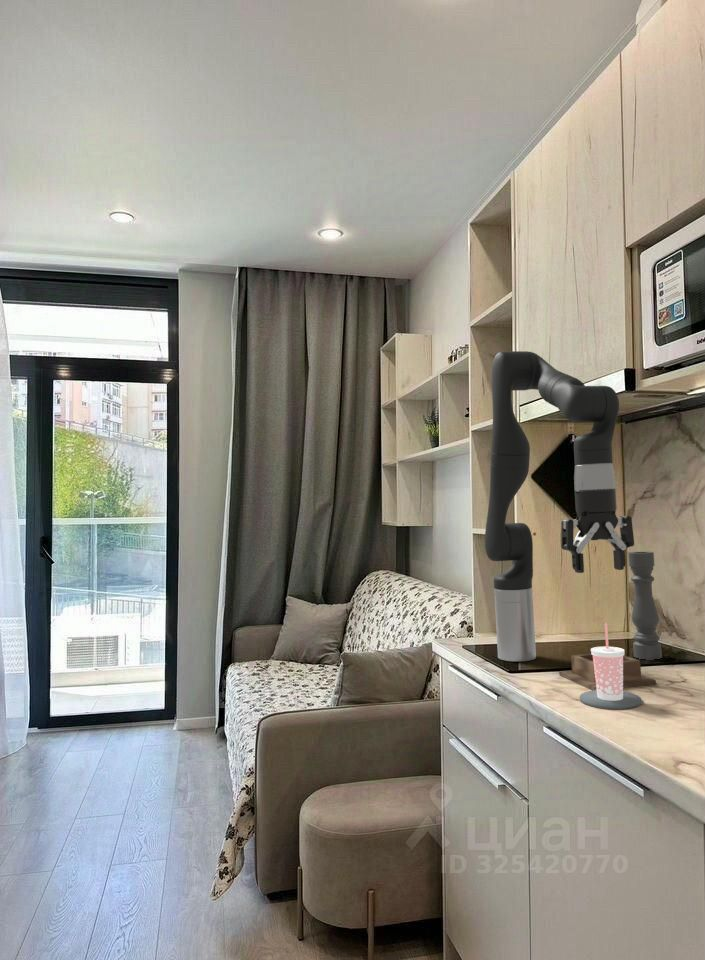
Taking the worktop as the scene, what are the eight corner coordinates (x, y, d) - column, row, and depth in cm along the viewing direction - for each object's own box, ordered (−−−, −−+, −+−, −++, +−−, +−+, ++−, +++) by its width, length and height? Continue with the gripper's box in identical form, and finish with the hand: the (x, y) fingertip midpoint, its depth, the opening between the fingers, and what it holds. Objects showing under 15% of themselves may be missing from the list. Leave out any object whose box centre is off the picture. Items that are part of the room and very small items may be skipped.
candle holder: (663, 655, 164) (656, 551, 165) (660, 661, 159) (653, 553, 160) (635, 653, 167) (629, 551, 168) (631, 659, 162) (624, 553, 163)
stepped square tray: (559, 675, 150) (558, 654, 150) (616, 669, 153) (614, 648, 153) (594, 691, 137) (593, 668, 137) (656, 684, 140) (654, 661, 140)
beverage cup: (615, 703, 125) (610, 627, 126) (586, 697, 130) (582, 623, 131) (634, 697, 129) (629, 622, 130) (605, 691, 134) (601, 619, 135)
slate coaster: (569, 696, 134) (568, 693, 134) (619, 690, 136) (618, 687, 136) (600, 712, 123) (600, 708, 123) (654, 705, 125) (654, 702, 125)
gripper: (616, 486, 138) (620, 567, 138) (551, 489, 135) (556, 571, 135) (639, 485, 131) (643, 570, 130) (571, 488, 128) (576, 575, 127)
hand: (599, 571), depth 132 cm, fingers open, 8 cm apart
